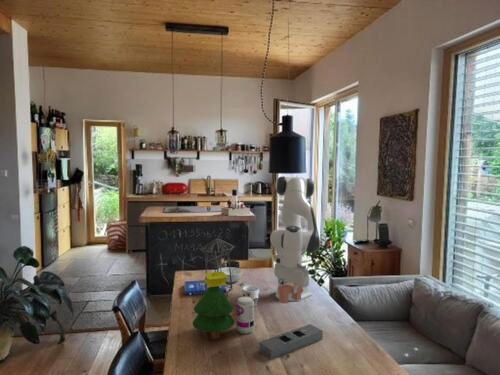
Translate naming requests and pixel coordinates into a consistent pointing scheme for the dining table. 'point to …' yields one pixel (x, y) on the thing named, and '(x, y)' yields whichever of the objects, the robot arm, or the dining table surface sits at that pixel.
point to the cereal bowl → (232, 274)
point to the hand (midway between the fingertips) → (290, 291)
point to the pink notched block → (287, 290)
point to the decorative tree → (213, 307)
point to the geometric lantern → (218, 258)
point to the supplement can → (245, 315)
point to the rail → (290, 341)
